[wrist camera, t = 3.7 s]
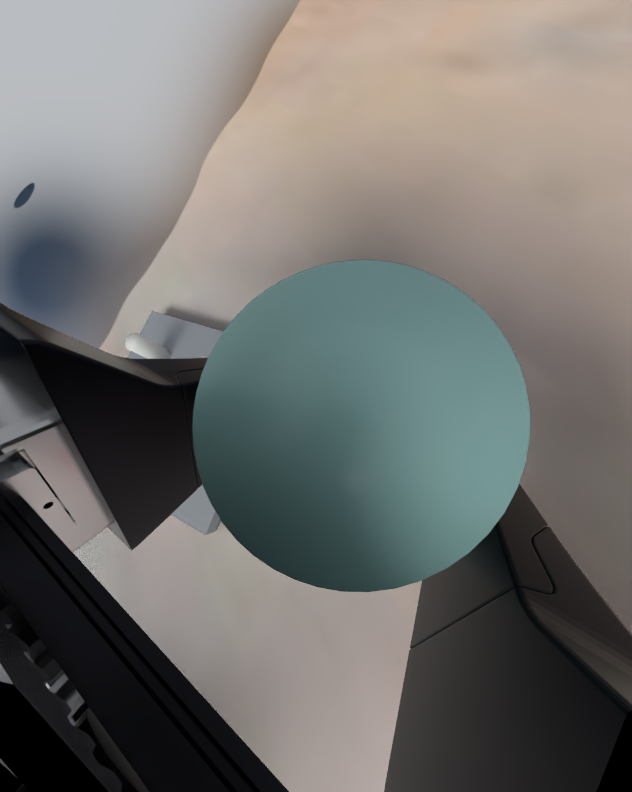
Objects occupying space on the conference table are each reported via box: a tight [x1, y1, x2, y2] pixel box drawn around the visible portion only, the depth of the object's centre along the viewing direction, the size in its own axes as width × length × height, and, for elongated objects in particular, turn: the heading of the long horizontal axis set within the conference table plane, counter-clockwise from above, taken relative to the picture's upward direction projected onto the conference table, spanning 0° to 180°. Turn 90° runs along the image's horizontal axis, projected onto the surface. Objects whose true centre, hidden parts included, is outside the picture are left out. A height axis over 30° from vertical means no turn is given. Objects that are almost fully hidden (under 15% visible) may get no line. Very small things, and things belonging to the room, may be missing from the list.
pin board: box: [125, 311, 223, 535], centre depth 17 cm, size 12×12×4 cm
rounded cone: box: [192, 260, 530, 592], centre depth 10 cm, size 5×5×12 cm
